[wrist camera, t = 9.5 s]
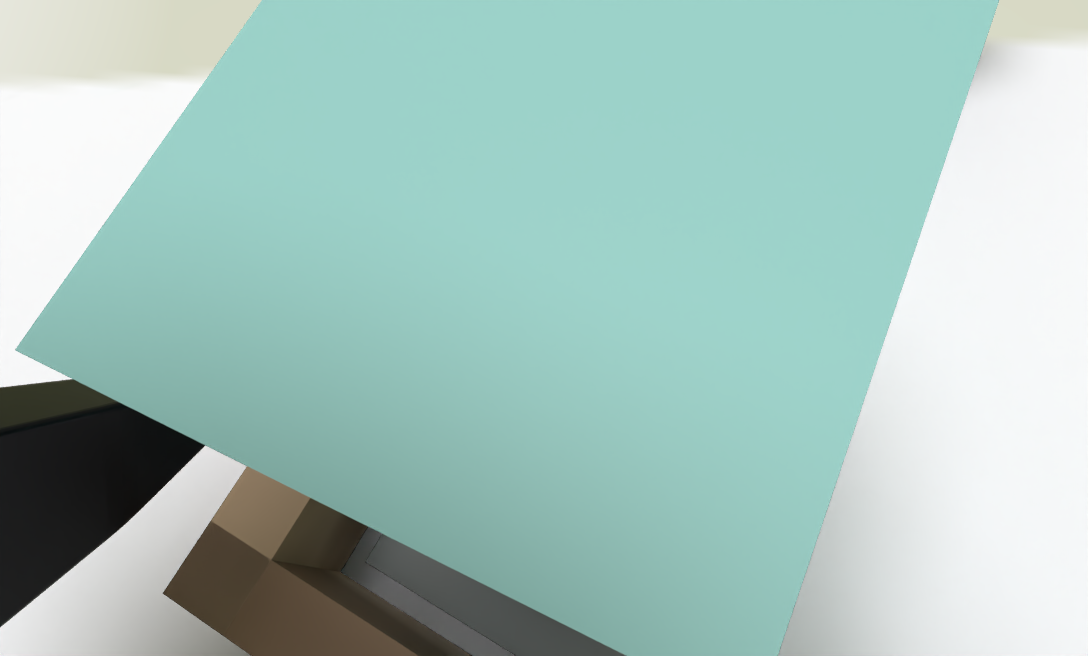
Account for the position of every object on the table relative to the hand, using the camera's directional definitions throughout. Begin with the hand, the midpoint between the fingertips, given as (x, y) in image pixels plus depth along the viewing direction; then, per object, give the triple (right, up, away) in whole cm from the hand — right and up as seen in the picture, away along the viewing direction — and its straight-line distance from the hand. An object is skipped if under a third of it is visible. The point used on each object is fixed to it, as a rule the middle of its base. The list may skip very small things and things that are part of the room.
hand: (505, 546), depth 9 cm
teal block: (+2, -1, +8) cm, 8 cm away
